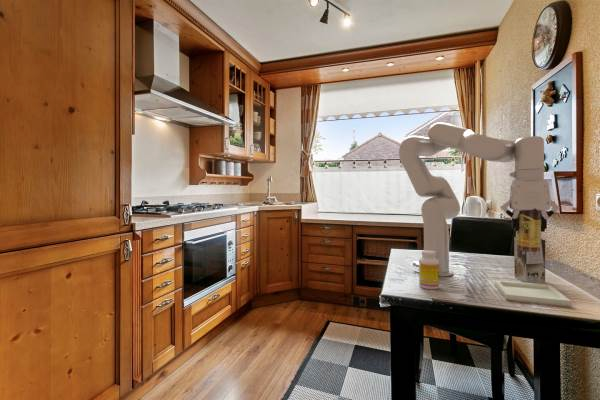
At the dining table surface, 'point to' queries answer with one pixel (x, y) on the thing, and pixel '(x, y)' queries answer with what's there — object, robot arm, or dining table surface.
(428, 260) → the supplement bottle
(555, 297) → the tray
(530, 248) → the sauce bottle
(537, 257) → the coffee box
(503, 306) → the dining table surface
